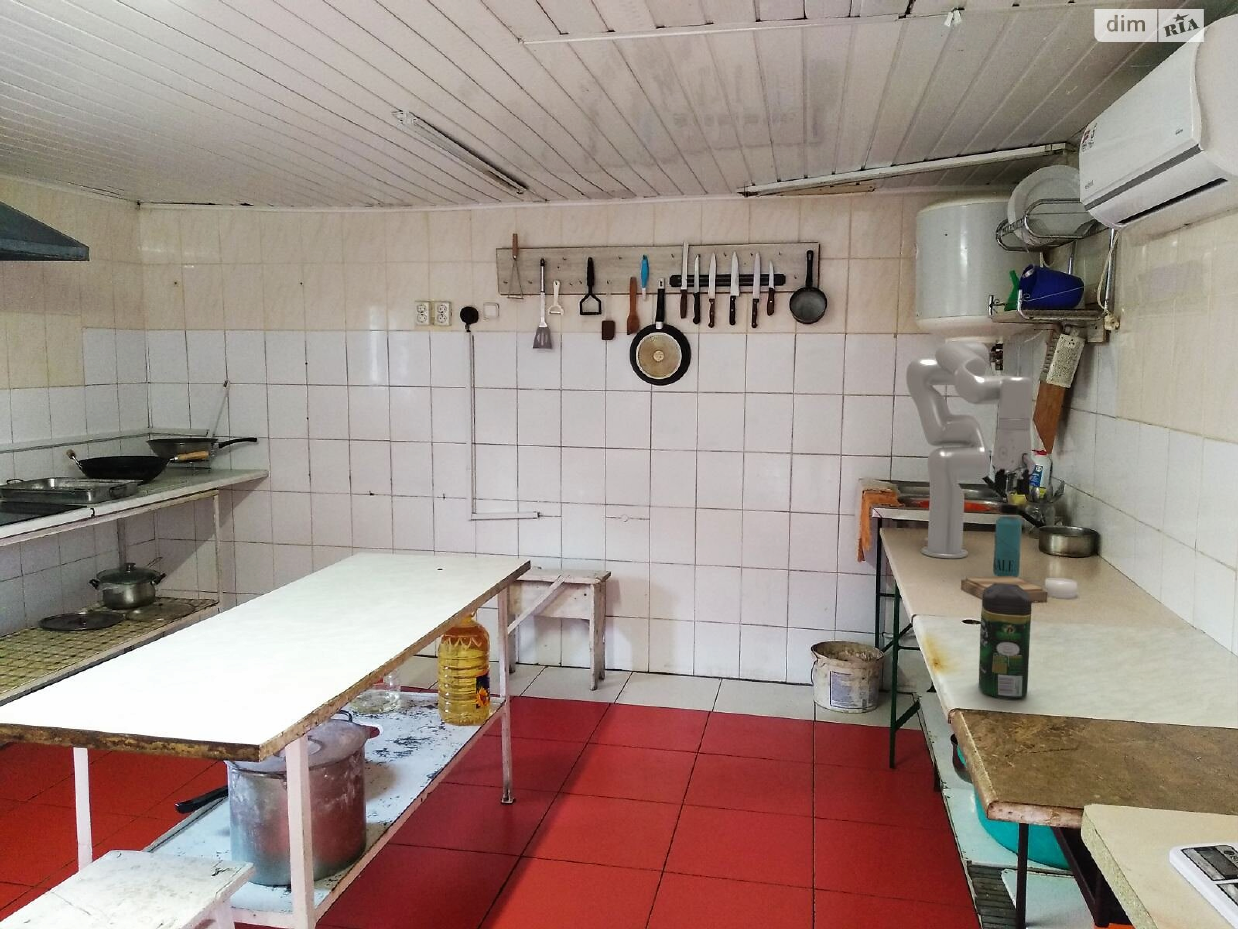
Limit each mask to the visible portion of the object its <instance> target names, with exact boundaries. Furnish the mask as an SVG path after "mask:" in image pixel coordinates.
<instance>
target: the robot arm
mask: <svg viewBox="0 0 1238 929" xmlns="http://www.w3.org/2000/svg"><path fill="white" fill-rule="evenodd" d="M989 359H990V352H989V349H988V348H987V346H986V345H985V344H984V343H982V342H980V341H974V340H973V341H972V340H971V341H970V340H969V341H965V340H962V341H960V340H959V341H958V340H956V341H946V342H944V343H942V344H940V345H939V346H938V347H937V348H936V350H935V354H934V356H926V357H925V356H924V357H918V358H916V359H913V360H912V361H910V363H909V364H908V366H907V369H906V373H905V374H906V375H905V376H906V386H907V387H906V388H907V390H908V393H909V394H910V396H911V399H912V400H913V402H914V404H915V407H916V410H917V412H918V416H919V419H920V423H921V426H922V430H923V434H924V438H925V439H926V441H927V443H928V444H929V445H931V447H938V448H935V449H934V450H932V451H931V452H930V453H929V454H928V457H927V470H928V478H929V480H928V481H929V504H928V505H929V506H928V508H929V509H928V511H929V512H928V528H927V529H928V533H927V537H925V539H924V540H925V542H927V546H924V547H922V548H921V552H922V554H923V555H926V556H929V557H933V558H940V559H941V558H942V559H963V558H966V557H968V551H967V550H966V549H963V536H964V534H963V533H964V517H965V516H964V515H965V514H964V513H965V493H964V491H963V489H962V487H961V486H960V484H959V483H958V481H961V480H979V479H983V478H986V477H987V476H988V475H989V474H990V470H991V467H992V468H993V469H992V470H993V474H994V482H993V483H994V484H993V485H994V486H993V489H994V490H997V491H1003V490H1004V491H1005V490H1007V487H1008V486H1007V484H1008V474H1007V471H1011V472H1013V471H1015V473H1016V474H1017V476H1018V478H1016V491H1015V492H1016V493H1015V494H1016V495H1017V496H1028V495H1030V484H1031V479H1032V475H1033V474H1034V472H1035V471H1034V470H1035V468H1036V464H1037V463H1036V461H1034V459H1032V439H1031V424H1032V423H1031V421H1032V404H1033V403H1032V402H1033V401H1032V400H1033V380H1032V379H1031V378H1030V377H1027V376H1014V375H985V374H986V371H987V365H988V364H989ZM934 386H954V389H955V392H956V393H957V395H958V396H959V397H960V398H962V399H963V400H964V401H966V402H967V403H969V404H973V405H983V406H984V405H998V419H997V420H998V424H997V431H996V434H995V437H994V438H995V440H994V446H993V455H991V458H990V454H989V449H988V446H987V444H986V440H985V437H984V433H983V431H982V428H981V425H980V423H979V421H978V420H977V419H976V418H975V417H974V416H972V415H969V414H953V413H951V411H950V409H949V404H948V402H947V400H946V398H945V397H944V395H943V394H942V393H940V392H939V390H937V389H936V388H935V387H934ZM991 462H992V466H991Z"/></svg>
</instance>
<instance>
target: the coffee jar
mask: <svg viewBox="0 0 1238 929" xmlns="http://www.w3.org/2000/svg"><path fill="white" fill-rule="evenodd" d="M981 600H982V601H981V611H980V612H981V613H980V629H979V634H980V635H979V662H978V663H979V664H978V684H979V688H980V690H981V691H982V692H983V694H986V695H989V696H993V697H995V698H998V699H1003V700H1004V699H1005V700H1012V699H1023V698H1025V697H1026V696H1027V694H1028V685H1029V663H1030V662H1029V660H1030V647H1031V646H1030V644H1031V643H1030V642H1031V625H1032V624H1031V623H1032V611H1033V610H1032V604H1033V602H1032V600H1031V597H1030V595H1029V594H1028V592H1026V591H1025V590H1024V589H1022V588H1020V587H1019V586H1018V585H1014V584H1002V583H994V584H993V585H991V586H989V587H987V588H985V589H984V591H983V597H982V599H981Z"/></svg>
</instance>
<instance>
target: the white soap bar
mask: <svg viewBox="0 0 1238 929" xmlns="http://www.w3.org/2000/svg"><path fill="white" fill-rule="evenodd" d="M1044 581H1045V582H1044V591H1047V592H1048V594H1047V595H1048V596H1047V597H1050V596H1052V597H1051V598H1053V597H1055V598H1054V599H1060V598H1061V599H1062V600H1073V598H1074V599H1076V598H1077V591H1078V582H1077V581H1076V580H1074V579H1070V578H1064V577H1046V578H1045V580H1044ZM1075 597H1076V598H1075Z"/></svg>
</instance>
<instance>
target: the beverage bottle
mask: <svg viewBox="0 0 1238 929" xmlns="http://www.w3.org/2000/svg"><path fill="white" fill-rule="evenodd" d="M1000 513H1001V514H1005V515H1018V514H1019V506H1018V505H1016V504H1011V503H1009V504H1007V503H1005V504H1001V509H1000ZM1022 525H1023V522H1022V521H1021V520H1020V518H1018V517H1014V516H1000V517H999V518H997V519H996V521H995V530H994V533H995V534H994V547H993V548H994V550H993V565H992V567H993V568H992V571H993V575H994V576H995V577H999V576H1013V577H1016V578H1018V577H1019V576H1020V565H1021V564H1020V563H1021V544H1022V542H1021V541H1022V527H1023V526H1022Z"/></svg>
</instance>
